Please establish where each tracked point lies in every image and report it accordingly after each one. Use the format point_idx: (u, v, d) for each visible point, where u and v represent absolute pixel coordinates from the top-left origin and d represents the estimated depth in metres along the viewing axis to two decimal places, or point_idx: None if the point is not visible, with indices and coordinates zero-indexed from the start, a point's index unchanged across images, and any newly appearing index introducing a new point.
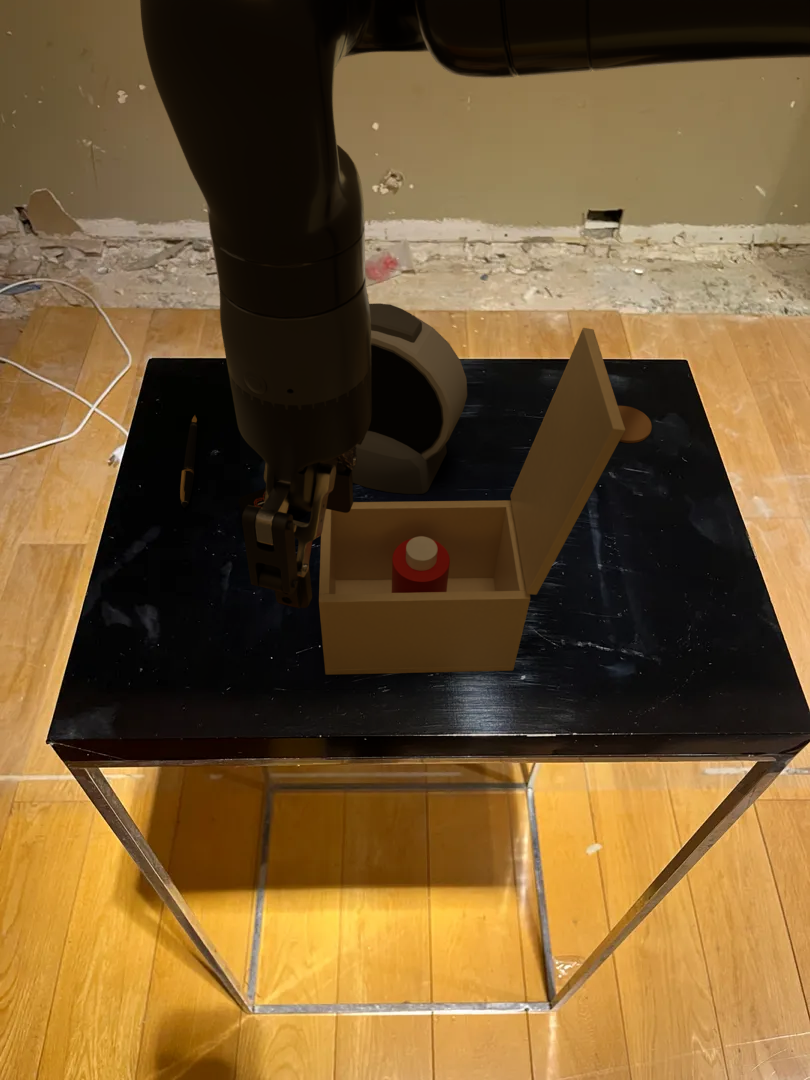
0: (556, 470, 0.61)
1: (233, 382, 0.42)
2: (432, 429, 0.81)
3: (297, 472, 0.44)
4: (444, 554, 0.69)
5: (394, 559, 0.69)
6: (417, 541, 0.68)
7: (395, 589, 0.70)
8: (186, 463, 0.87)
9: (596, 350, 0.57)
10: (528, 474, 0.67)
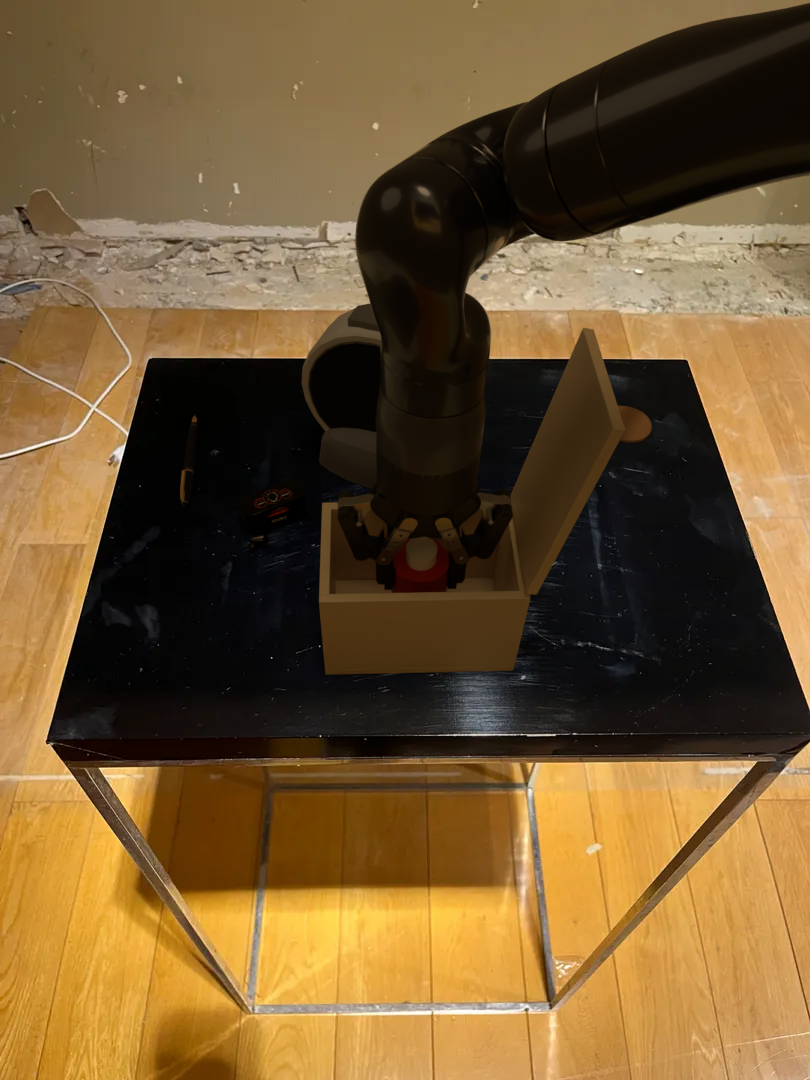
0: (556, 470, 0.61)
1: None
2: None
3: (378, 493, 0.61)
4: (444, 554, 0.69)
5: (394, 559, 0.69)
6: (417, 541, 0.68)
7: (395, 589, 0.70)
8: (186, 463, 0.87)
9: (596, 350, 0.57)
10: (528, 474, 0.67)
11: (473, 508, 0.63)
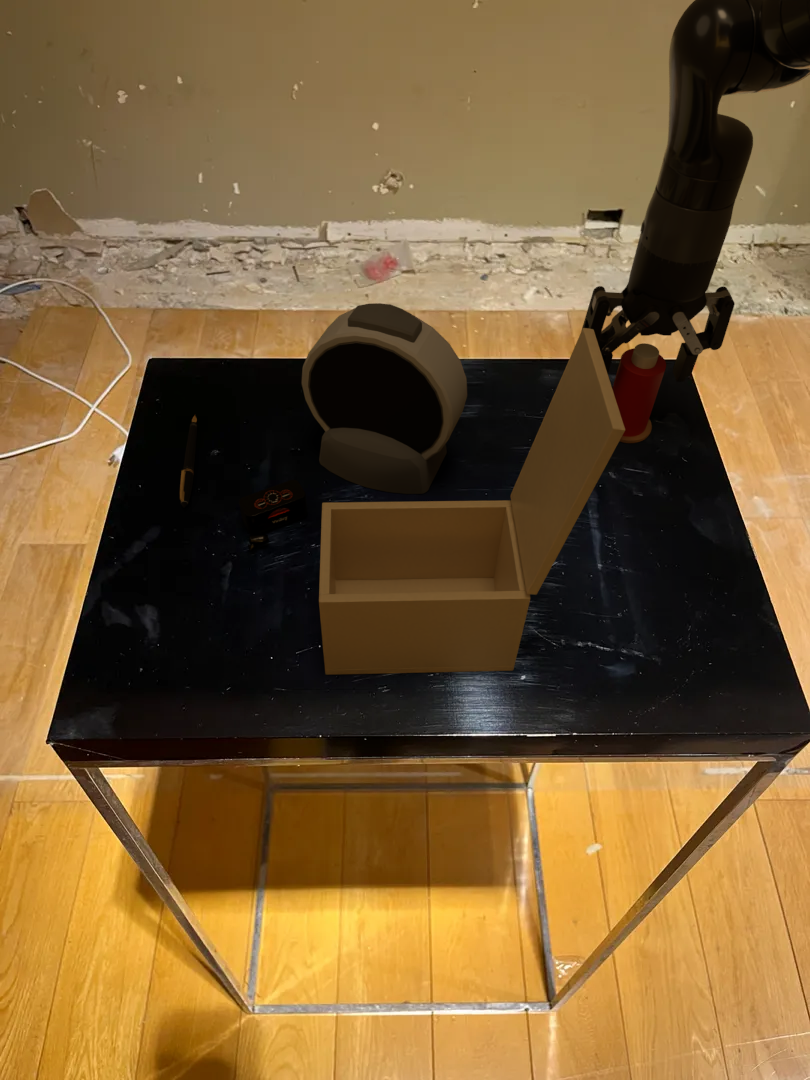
0: (556, 470, 0.61)
1: None
2: (432, 429, 0.81)
3: (632, 291, 0.80)
4: (660, 358, 0.88)
5: (623, 361, 0.88)
6: (642, 346, 0.87)
7: (620, 388, 0.89)
8: (186, 463, 0.87)
9: (596, 350, 0.57)
10: (528, 474, 0.67)
11: (701, 306, 0.81)
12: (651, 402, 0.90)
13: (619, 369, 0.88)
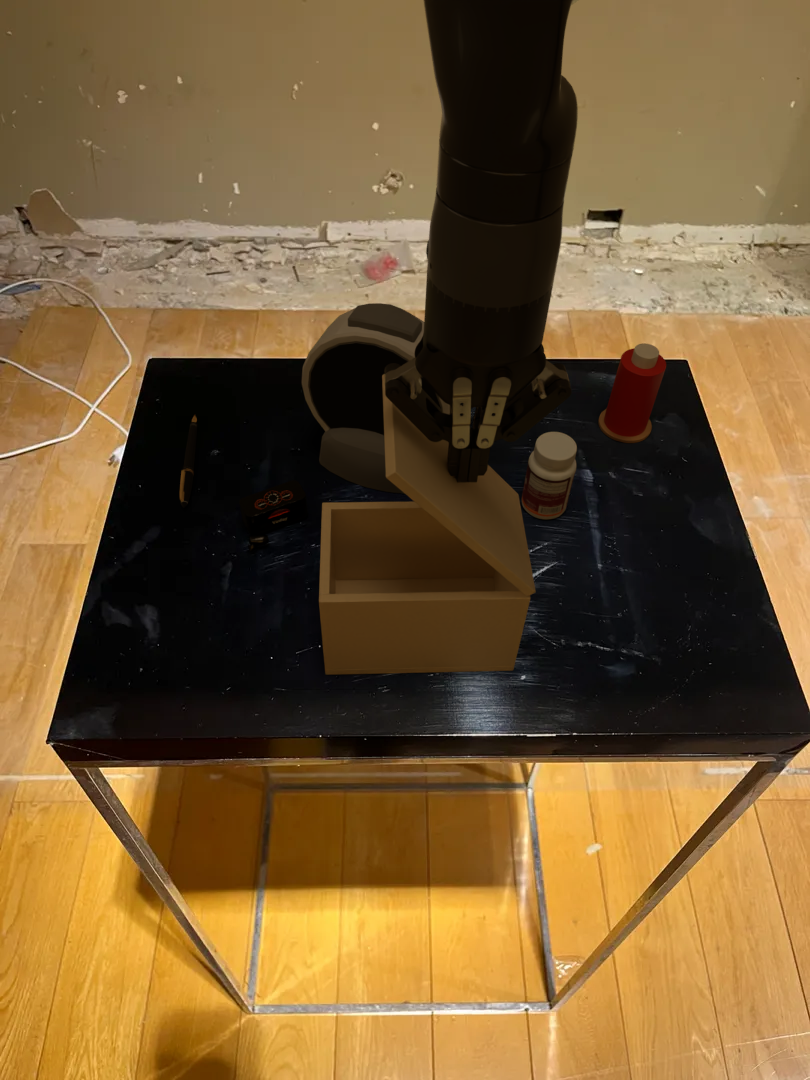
0: None
1: None
2: None
3: (426, 345, 0.52)
4: (660, 358, 0.88)
5: (623, 361, 0.88)
6: (642, 346, 0.87)
7: (620, 388, 0.89)
8: (186, 463, 0.87)
9: None
10: None
11: (537, 368, 0.53)
12: (651, 402, 0.90)
13: (619, 369, 0.88)
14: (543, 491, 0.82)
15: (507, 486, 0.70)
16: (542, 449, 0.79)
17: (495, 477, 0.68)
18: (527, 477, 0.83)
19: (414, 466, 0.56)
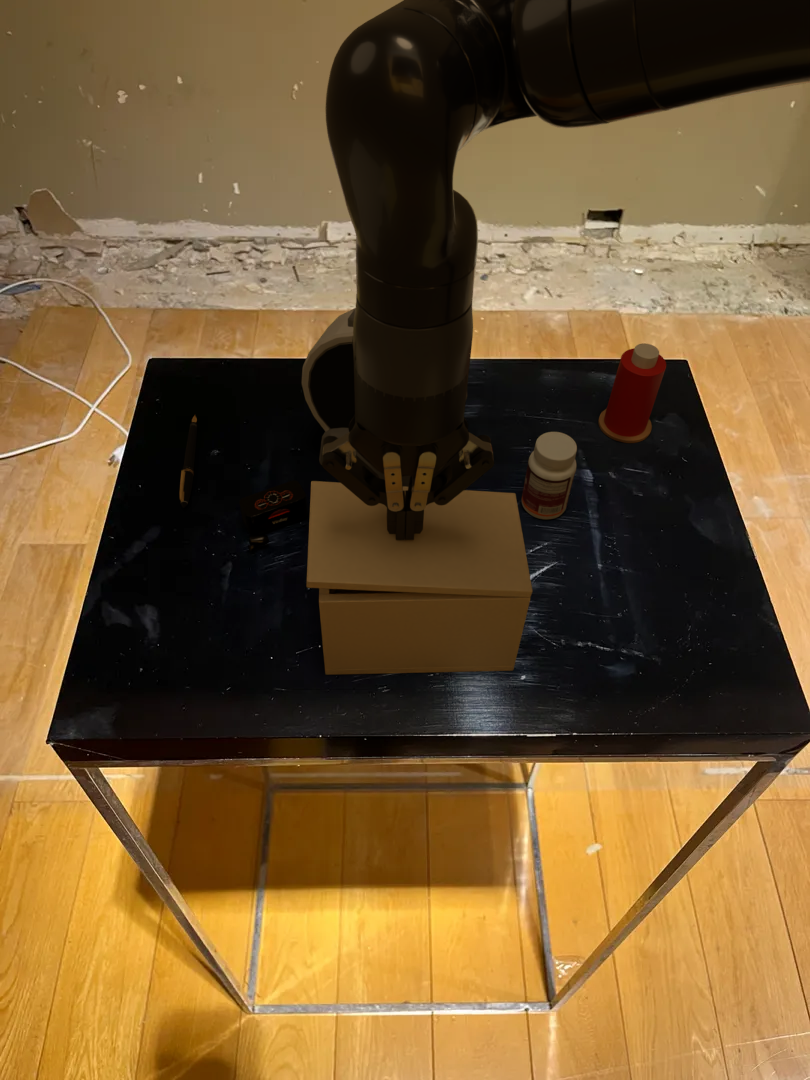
0: None
1: None
2: None
3: (356, 424, 0.56)
4: (660, 358, 0.88)
5: (623, 361, 0.88)
6: (642, 346, 0.87)
7: (620, 388, 0.89)
8: (186, 463, 0.87)
9: (310, 505, 0.67)
10: None
11: (460, 442, 0.58)
12: (651, 402, 0.90)
13: (619, 369, 0.88)
14: (543, 491, 0.82)
15: (494, 495, 0.70)
16: (542, 449, 0.79)
17: (474, 496, 0.70)
18: (527, 477, 0.83)
19: (335, 560, 0.64)
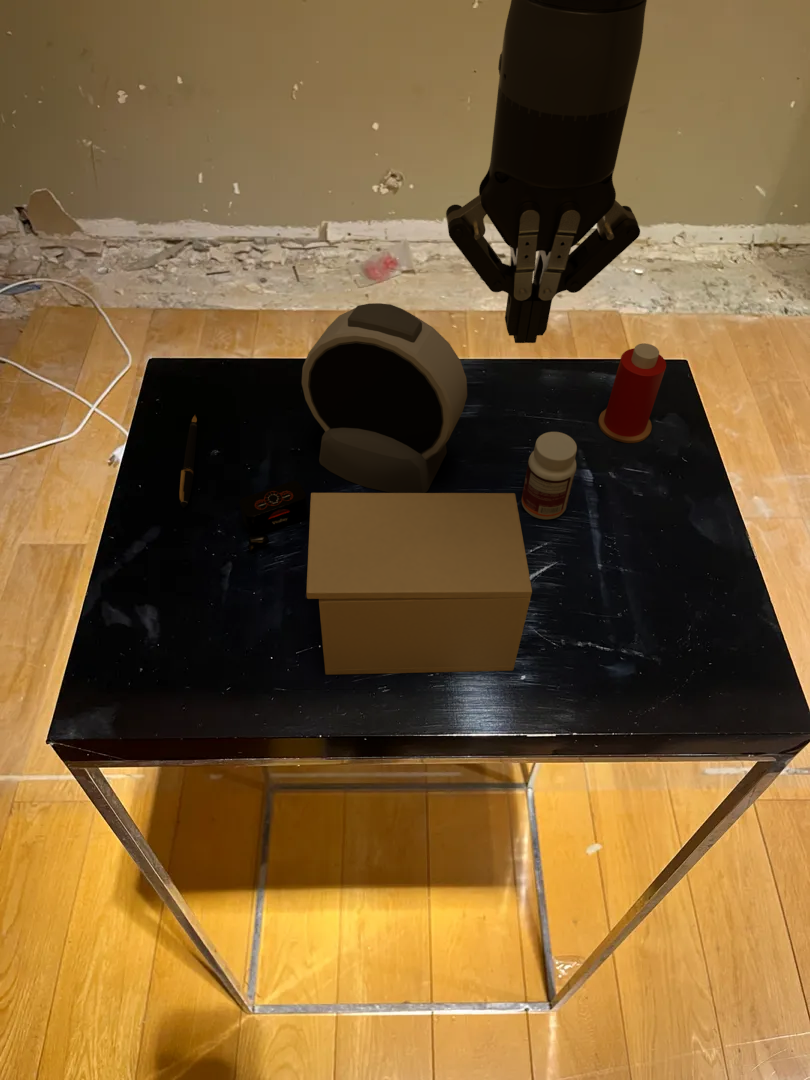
0: None
1: None
2: (432, 428, 0.81)
3: (493, 175, 0.50)
4: (660, 358, 0.88)
5: (623, 361, 0.88)
6: (642, 346, 0.87)
7: (620, 388, 0.89)
8: (186, 463, 0.87)
9: (310, 517, 0.68)
10: None
11: (606, 202, 0.51)
12: (651, 402, 0.90)
13: (619, 369, 0.88)
14: (543, 491, 0.82)
15: (494, 496, 0.71)
16: (542, 449, 0.79)
17: (473, 499, 0.70)
18: (527, 477, 0.83)
19: (335, 570, 0.65)
